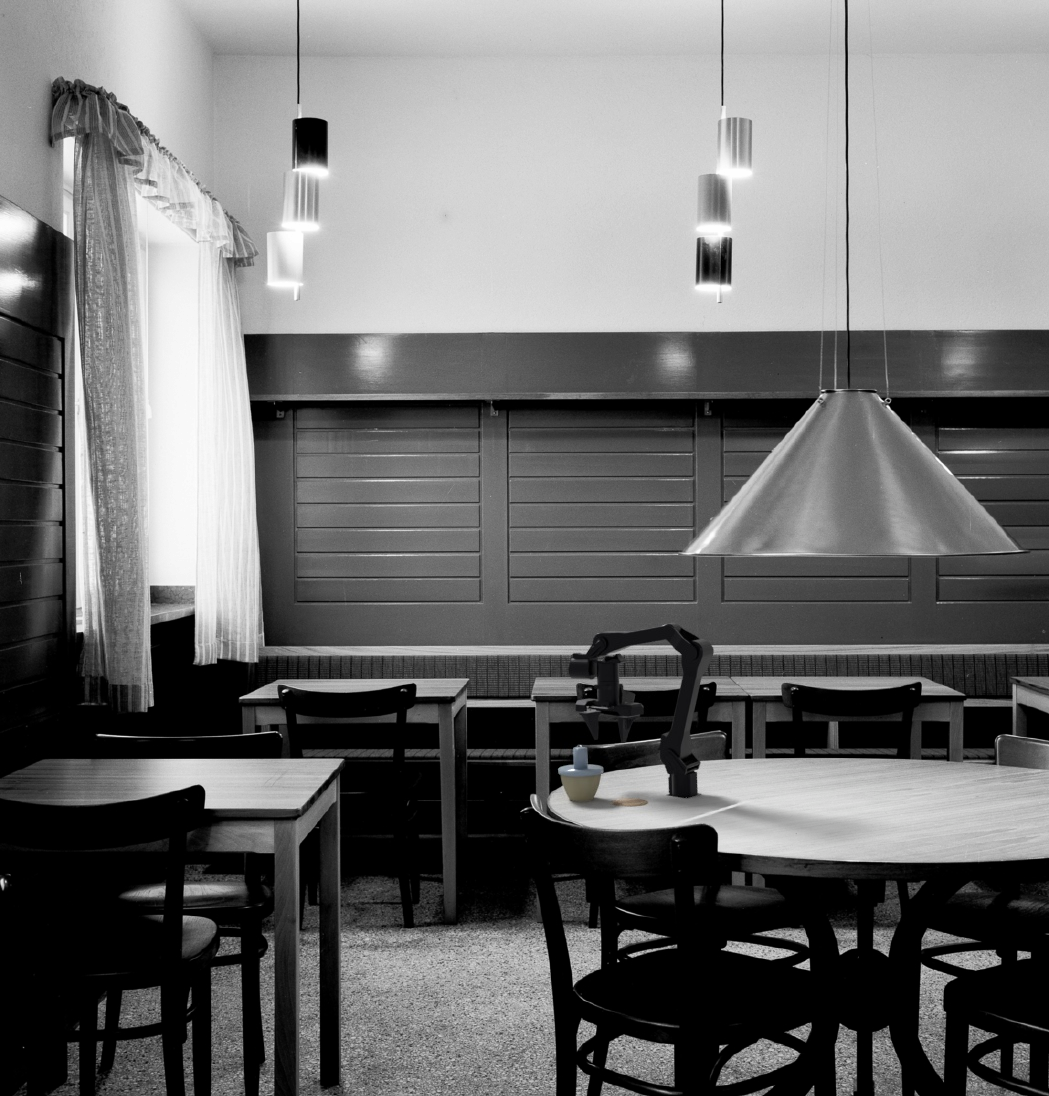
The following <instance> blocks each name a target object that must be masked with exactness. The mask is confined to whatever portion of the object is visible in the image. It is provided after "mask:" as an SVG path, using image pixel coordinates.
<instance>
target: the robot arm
mask: <svg viewBox="0 0 1049 1096" xmlns="http://www.w3.org/2000/svg"><path fill="white" fill-rule="evenodd" d="M592 639H593V640H592V644H591V645H590V647H589V648H588V650H587V652H586V653H581V652H573V653H572V655H571V656H572V658H571V659H570V661H569V663H568V667H567V669H568V675H569V677H570V678H571V679H572V680H573V679H574V680H591V681H592V680H594V679H595V678H596V684H593V689H594V690H595V689H596V691H597V693H596V695H597V698H585V699H584V698H583V699H579V700H576V703H574V707H575V712H577V713H578V715H579V716H581V717H582V719H583V720H584V723H585V724H586V726H587V727H588V730H589V732H590V734H591V735H592V738H593V740H598V739H599V718H600V715H601V713H602V711H603V712H604V711H606V712H616V713H618V715H619V716H617V717H616V718H617V724H618V730H619V737H620V740H621V741H620V742H621V743H622V744H625V743H626V742H627V738H628V735H629V733H630V730H631V726H632V724H633V722H634V721H635V720H636V719H637V718H640V716H641V715H644V714H645V713H644V712H645V710H644V709H645V708H644V705H643V704H642V703H641V702H640V703H639V702H634V701H635V696H636V694H635V693H633V692H632V691H628V690H625V688H624V684H623V683H620V664H623V663H627V659H626V658H625V657H624V656H622V654H621V653H618V652H620V651H624V650H626V649H628V648H629V647H633V646H636V645H644V644H647V643H653V642H659V641H665V640H666V641H667V642H668V643H669V644H670V645H671V647H672V648H673V649H674V650H675V652H678V653H679V654H680V664H681V665H680V666H681V670H682V677H681V683H680V685H679V686H680V687H679V690H678V696H677V700H676V704H675V705H676V706H675V709H674V715H673V719H672V722H671V723H672V724H671V728H670V730H669V731H667V732H665V733H663V734H661V735H660V739H659V740H660V743H659V746H658V748H657V751H659V760H661V763H662V764H663V765H664V768H665V771H666V773H667V775H668V778H667V779H668V781H667V782H668V794H666V796H668V797H673V798H680V799H691V798H693V797H697V796H700V795H702V793H699V791H698V770H699V769H700V766H701V760H700V759H699V758H698V757H697V756H696V755H695V754H694V753H693V752H692V749H693V748H692V745H693V742H692V737H691V727H692V723H693V718H694V713H695V710H696V709H695V708H696V704H697V700H698V696H699V691H700V690H699V689H700V686H701V682H702V678H703V675H704V674H705V673H706V672H707V669H708V668H709V666H710V663H711V661H712V659H713V656H714V653H715V650H714V647H713V645H712V642H710V641H709V640H708V639H707V640H706V639H704V638H700V637H699V636H698V635H696V634H694V633H692V632H691V631H689V630H686V628H684V627H683V626H681V625H679V623H677V622H671V623H670V622H669V623H665V624H664V625H659V626H658V625H657V626H654V627H652V626H651V627H648V628H643V629H638V630H631V631H624V630H608V631H602V632H598V633H596V634H595V635H594V637H593V638H592ZM610 654H614V655H613V656H611V655H610ZM609 655H610V656H609ZM602 657H603V658H602ZM599 658H602V659H599Z"/></svg>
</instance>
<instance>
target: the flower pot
mask: <svg viewBox="0 0 1049 1096" xmlns="http://www.w3.org/2000/svg"><path fill="white" fill-rule="evenodd" d="M601 777H602V774H600V775H595V776H587V777H571V776H564V775H560V779H561V784H562V786H563V789H564V791H565V794H566V795H567V798H568V799H569V800H570V801H572V802H589V801H593V800H594V798H595V795H596V793H597V792H598V789H599V787H600V782H601Z"/></svg>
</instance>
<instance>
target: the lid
mask: <svg viewBox="0 0 1049 1096" xmlns="http://www.w3.org/2000/svg"><path fill="white" fill-rule="evenodd" d="M572 750H573V753H572V754H573V755H572V756H573V764H568V765H563V766H560V767H559V768H558V769H557V770H558V774H559V775H560V776H561V775H564V776H571V777H587V776H595V775H600V774H601V775H602V774H604V767H603V766H602V765H598V764H588V763H589V762H588V747H587V746H586V747H585V746H575V747H573V749H572Z"/></svg>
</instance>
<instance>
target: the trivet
mask: <svg viewBox="0 0 1049 1096" xmlns="http://www.w3.org/2000/svg"><path fill="white" fill-rule="evenodd" d="M649 802H650V801H648V800H646V799H643V798H635V797H633V798H631V797H630V798H619V799H614V800H612V801H610V803H611V805H613V806H618V807H634V808H635V807H641V806H647V805H648V804H649Z"/></svg>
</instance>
